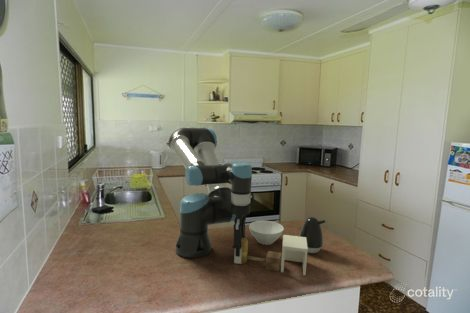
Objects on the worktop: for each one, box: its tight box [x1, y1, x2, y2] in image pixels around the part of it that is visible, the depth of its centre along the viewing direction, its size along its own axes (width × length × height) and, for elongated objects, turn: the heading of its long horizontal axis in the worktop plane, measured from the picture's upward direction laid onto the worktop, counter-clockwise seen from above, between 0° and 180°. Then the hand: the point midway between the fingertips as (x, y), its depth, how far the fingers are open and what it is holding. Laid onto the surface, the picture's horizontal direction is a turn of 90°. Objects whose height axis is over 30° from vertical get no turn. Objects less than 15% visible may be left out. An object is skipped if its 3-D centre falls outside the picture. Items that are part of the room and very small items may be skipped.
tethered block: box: [240, 237, 282, 272], centre depth 110 cm, size 17×5×9 cm, turn 73°
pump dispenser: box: [299, 216, 326, 254], centre depth 122 cm, size 10×10×15 cm
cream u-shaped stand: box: [280, 234, 308, 276], centre depth 109 cm, size 9×10×10 cm
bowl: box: [248, 220, 285, 246], centre depth 131 cm, size 16×16×7 cm
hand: (238, 260), depth 112 cm, fingers closed on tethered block, 4 cm apart
